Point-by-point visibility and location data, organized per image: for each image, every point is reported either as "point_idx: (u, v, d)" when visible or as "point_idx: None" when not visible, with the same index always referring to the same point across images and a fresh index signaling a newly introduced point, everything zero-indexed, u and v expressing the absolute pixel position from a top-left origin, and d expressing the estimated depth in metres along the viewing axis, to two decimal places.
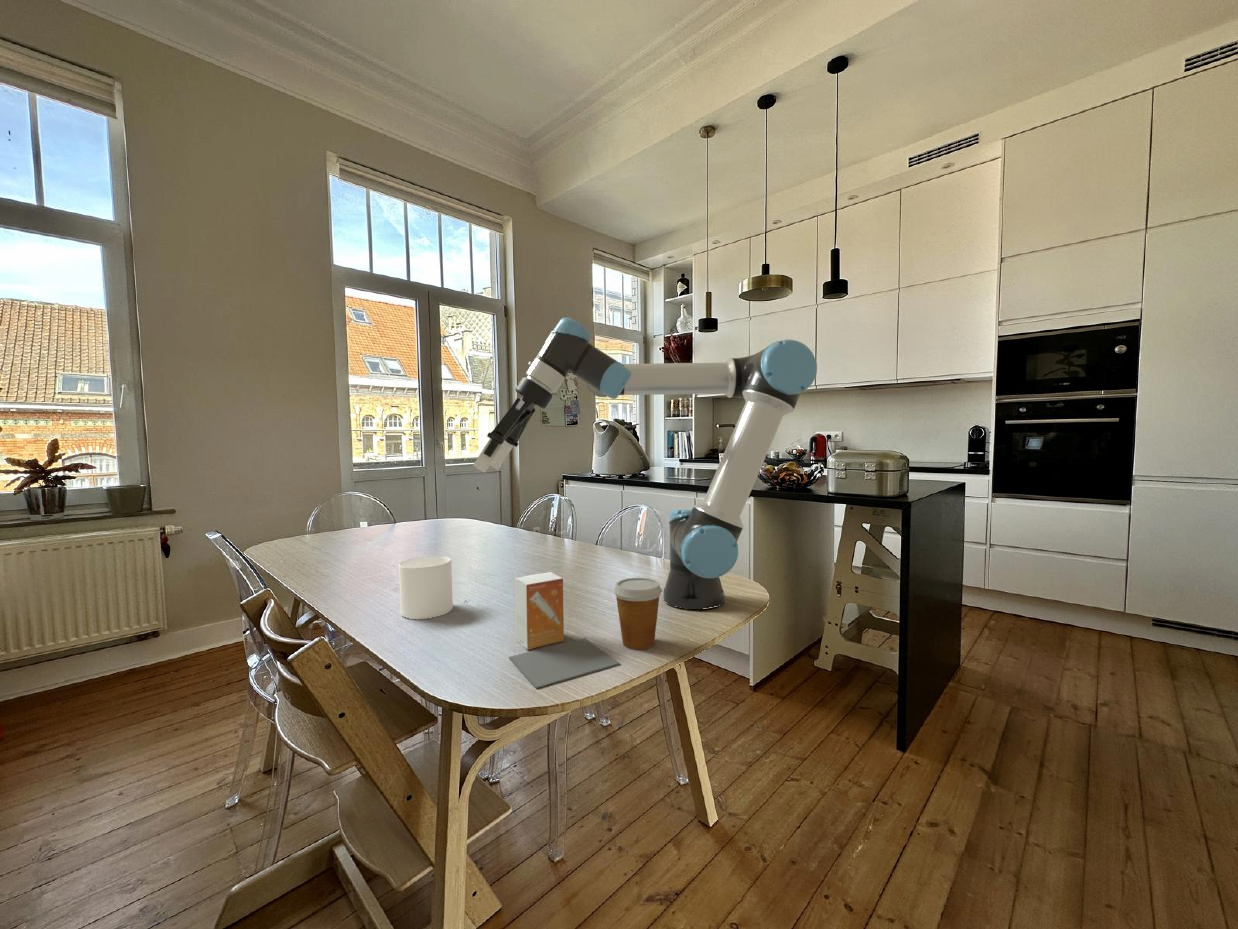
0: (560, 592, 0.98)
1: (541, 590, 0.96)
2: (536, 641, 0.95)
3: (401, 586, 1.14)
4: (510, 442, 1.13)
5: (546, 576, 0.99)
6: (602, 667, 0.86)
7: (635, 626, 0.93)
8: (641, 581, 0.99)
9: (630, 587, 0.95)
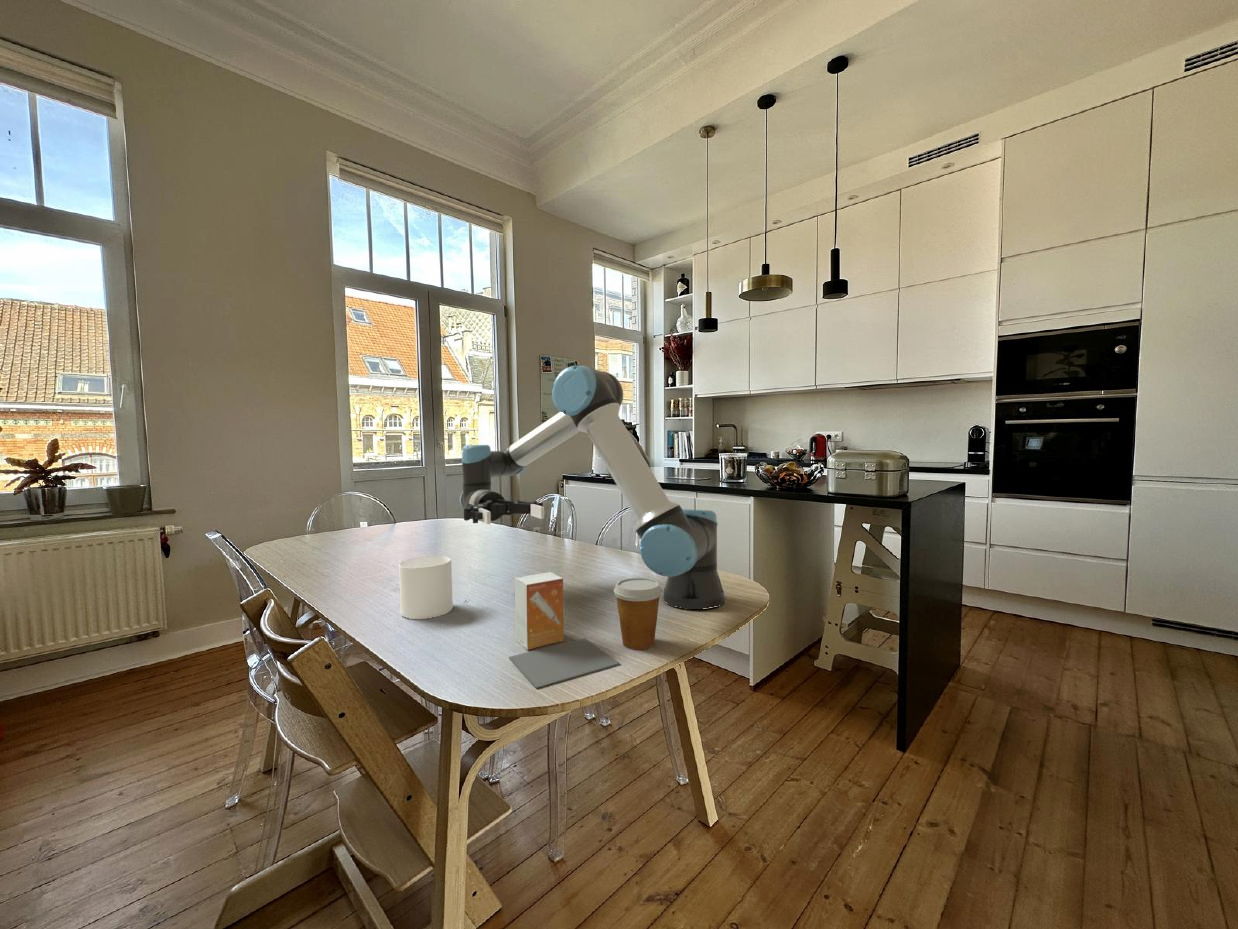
0: (560, 592, 0.98)
1: (541, 590, 0.96)
2: (536, 641, 0.95)
3: (401, 586, 1.14)
4: None
5: (546, 576, 0.99)
6: (602, 667, 0.86)
7: (635, 626, 0.93)
8: (641, 581, 0.99)
9: (630, 587, 0.95)
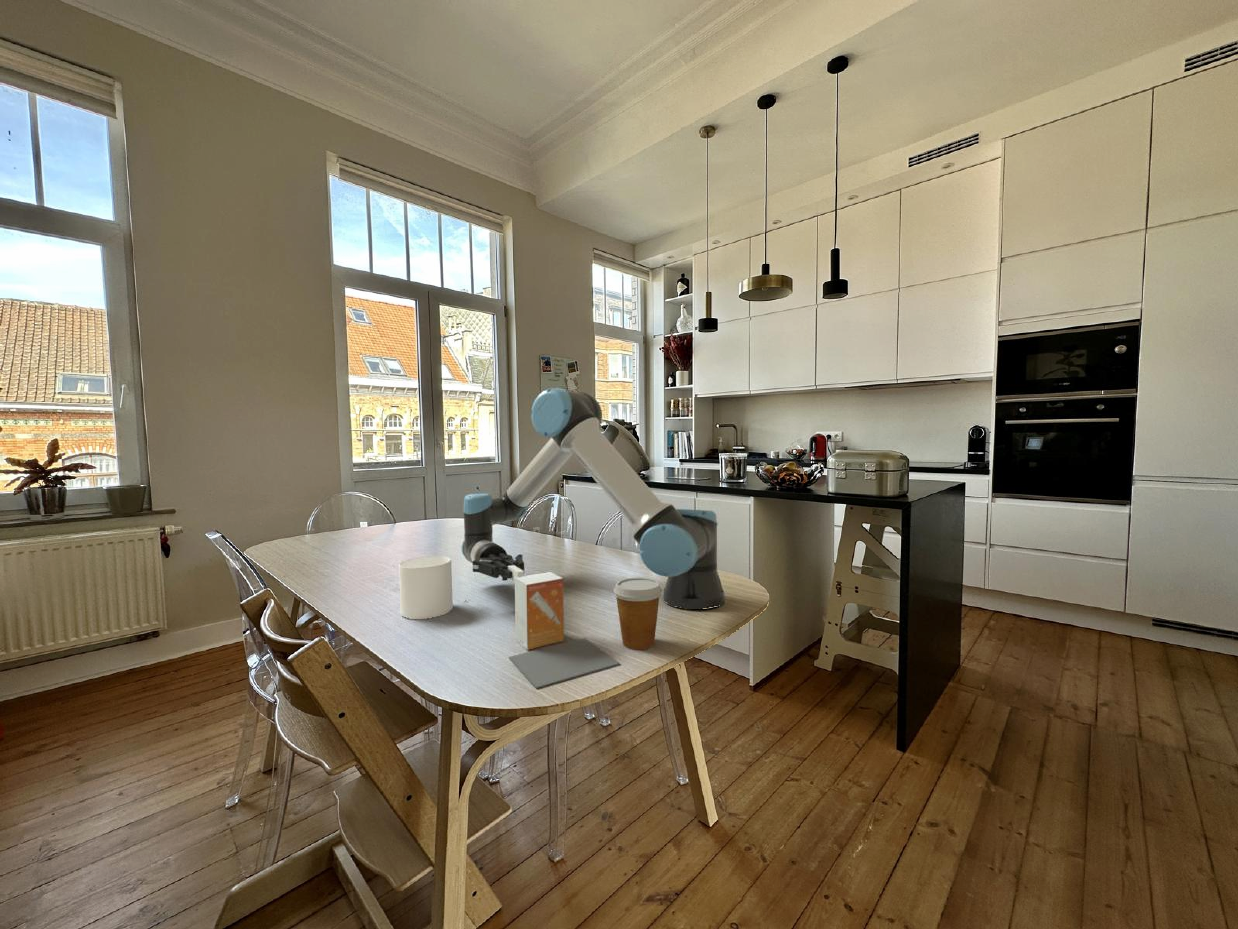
0: (560, 592, 0.98)
1: (541, 590, 0.96)
2: (536, 641, 0.95)
3: (401, 586, 1.14)
4: None
5: (546, 576, 0.99)
6: (602, 667, 0.86)
7: (635, 626, 0.93)
8: (641, 581, 0.99)
9: (630, 587, 0.95)
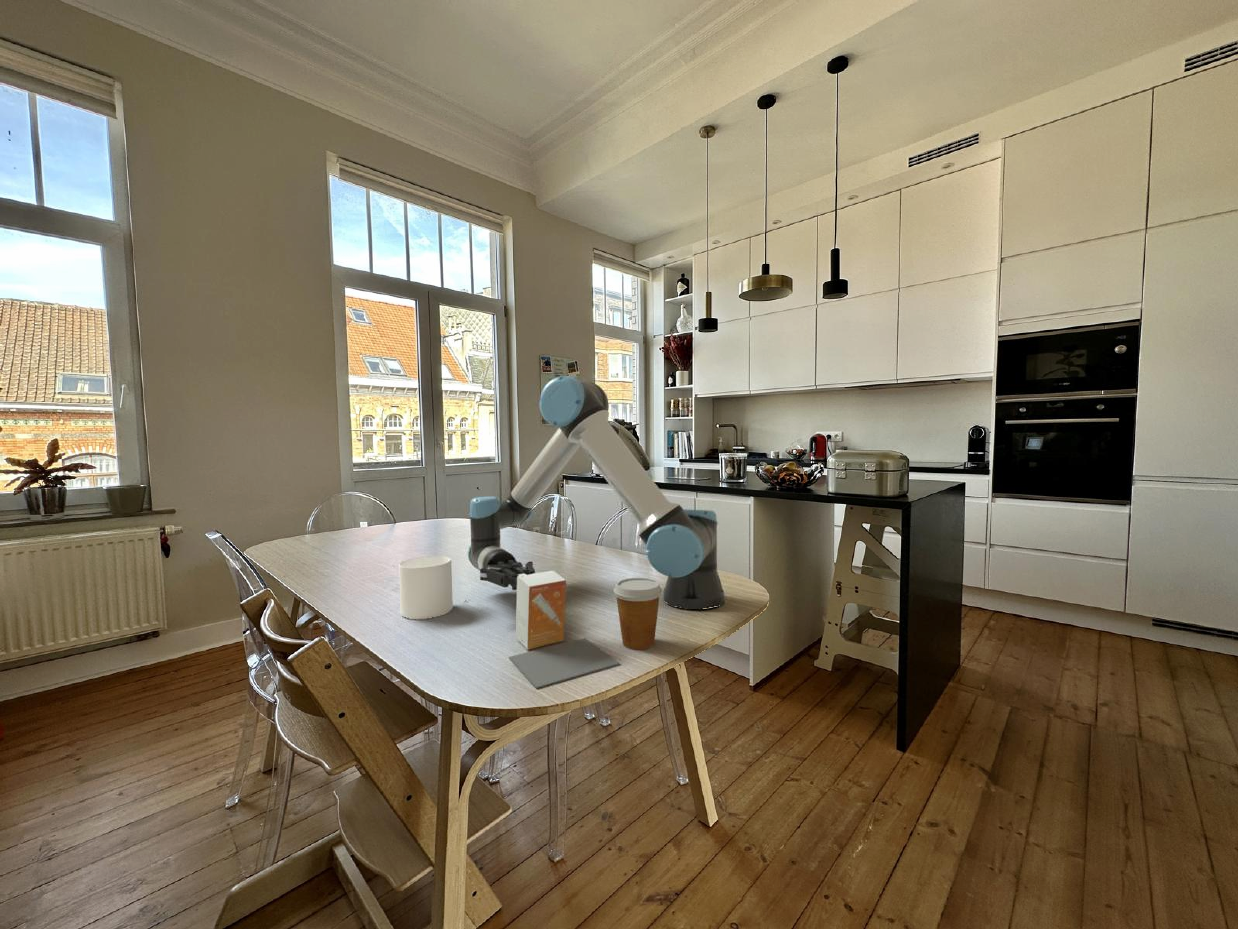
0: (562, 594, 0.97)
1: (544, 592, 0.95)
2: (537, 641, 0.95)
3: (401, 586, 1.14)
4: None
5: (549, 576, 0.98)
6: (602, 667, 0.86)
7: (635, 626, 0.93)
8: (641, 581, 0.99)
9: (630, 587, 0.95)
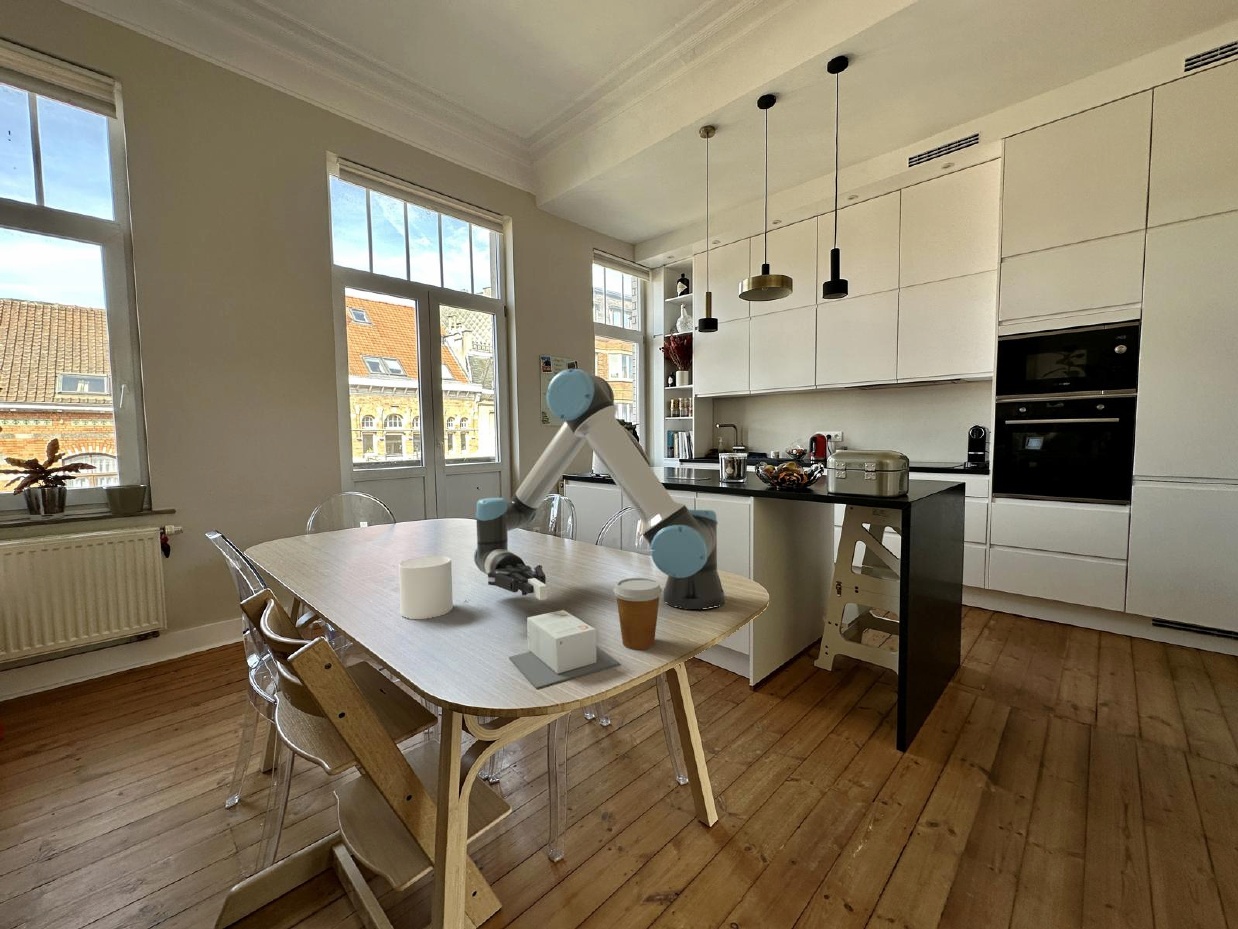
0: None
1: None
2: None
3: (401, 586, 1.14)
4: None
5: (585, 650, 0.87)
6: (602, 667, 0.86)
7: (635, 626, 0.93)
8: (641, 581, 0.99)
9: (630, 587, 0.95)
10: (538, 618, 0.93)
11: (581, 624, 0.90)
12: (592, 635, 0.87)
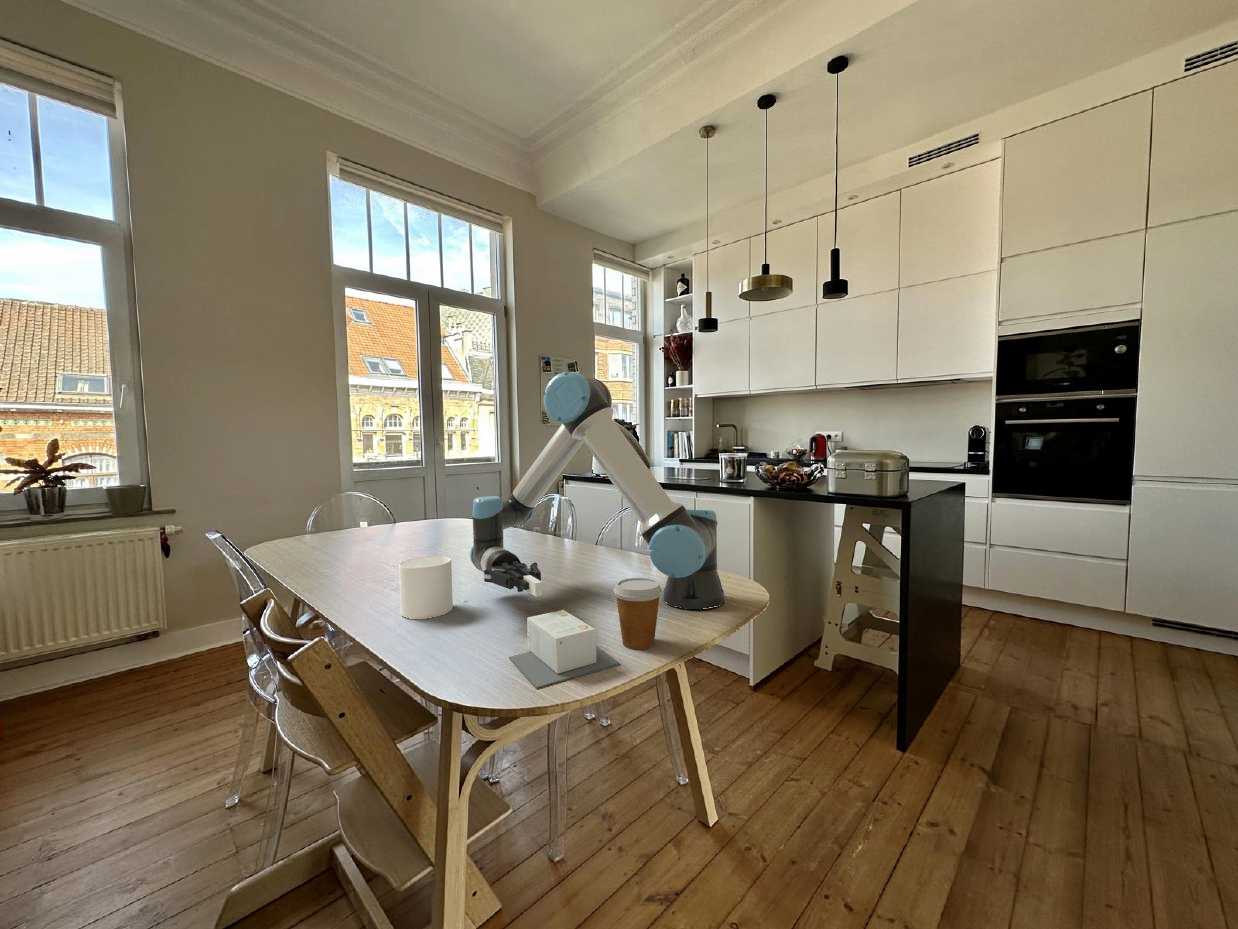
0: None
1: None
2: None
3: (401, 586, 1.14)
4: None
5: (585, 650, 0.87)
6: (602, 667, 0.86)
7: (635, 626, 0.93)
8: (641, 581, 0.99)
9: (630, 587, 0.95)
10: (538, 618, 0.93)
11: (581, 624, 0.90)
12: (592, 635, 0.87)
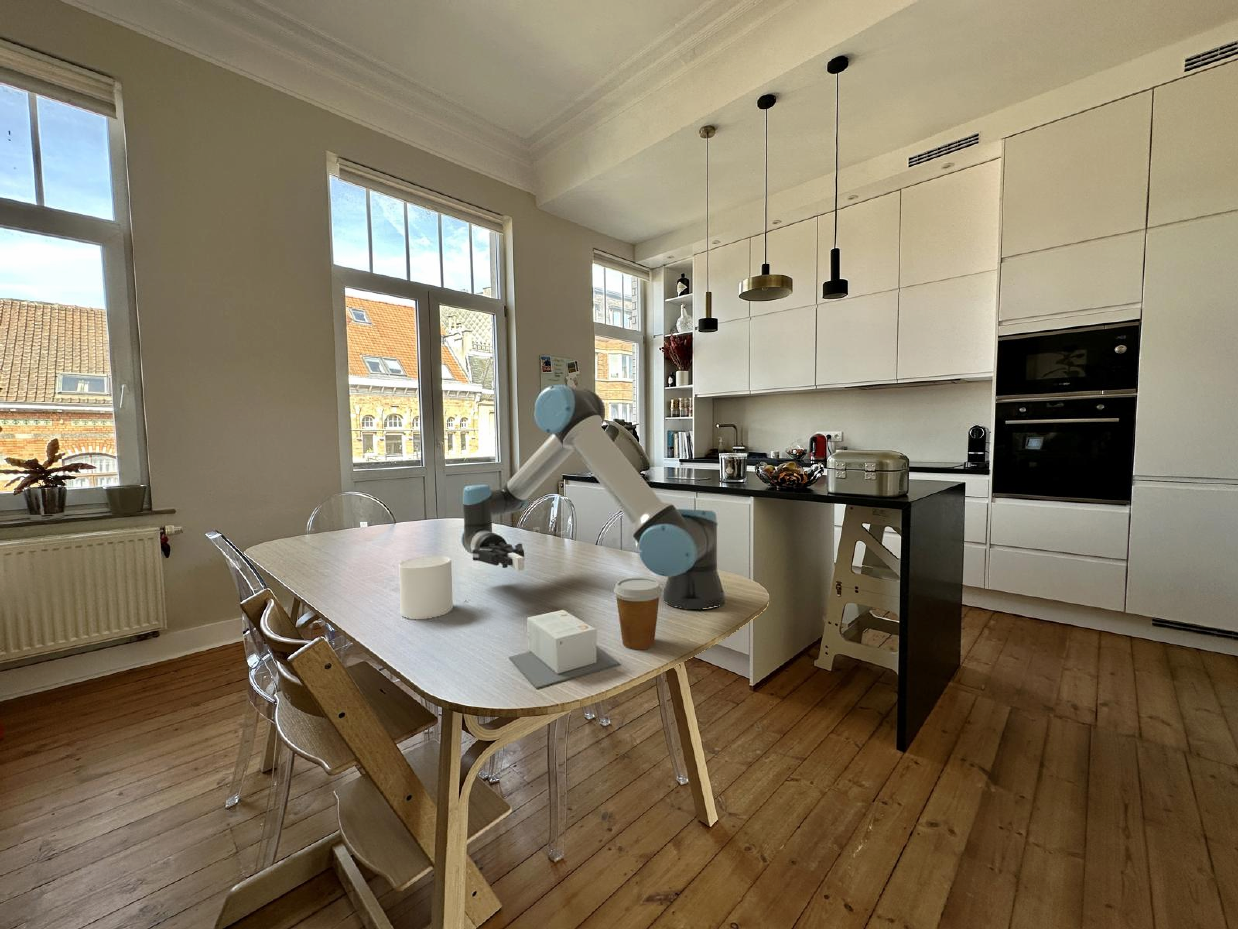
0: None
1: None
2: None
3: (401, 586, 1.14)
4: None
5: (585, 650, 0.87)
6: (602, 667, 0.86)
7: (635, 626, 0.93)
8: (641, 581, 0.99)
9: (630, 587, 0.95)
10: (538, 618, 0.93)
11: (581, 624, 0.90)
12: (592, 635, 0.87)
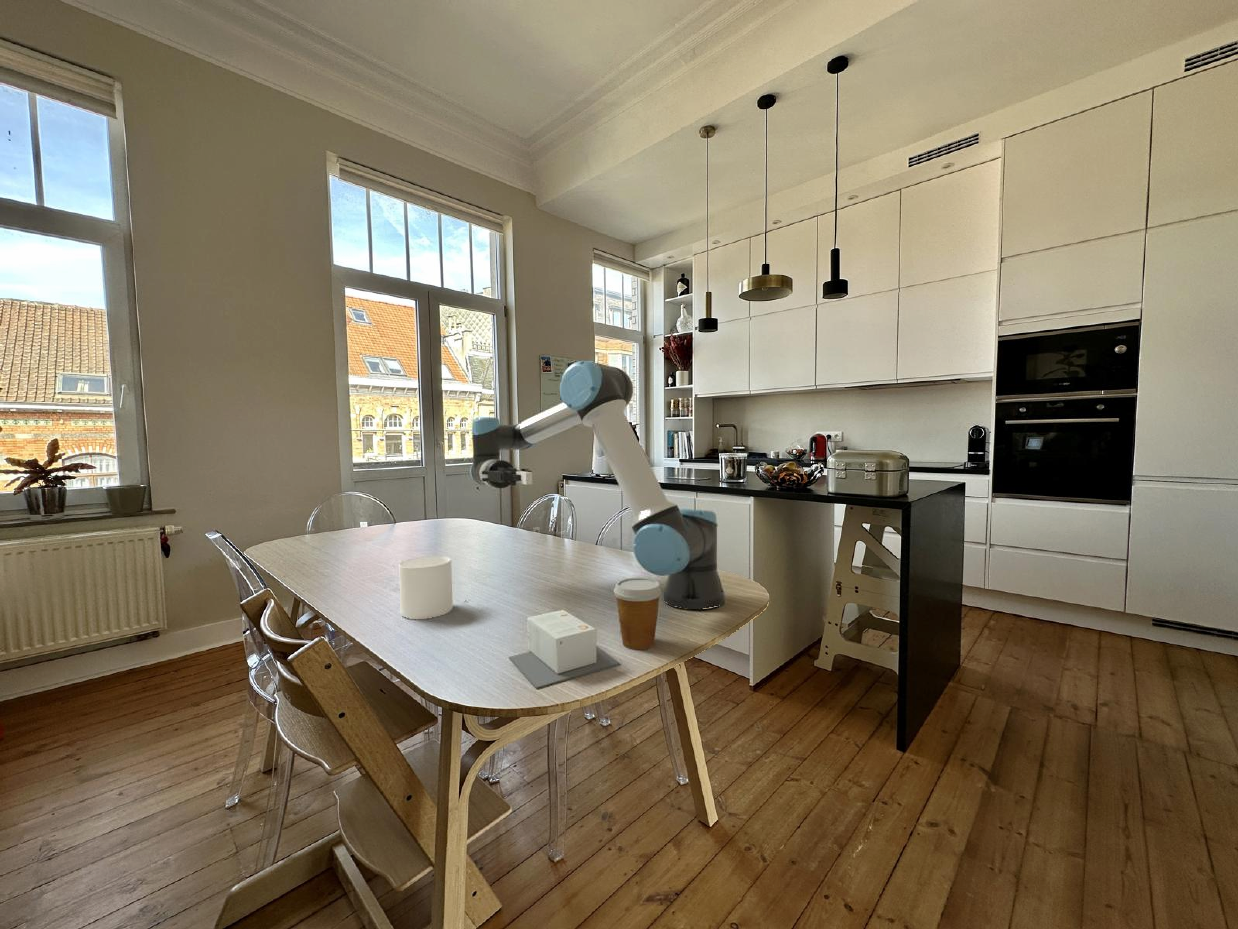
0: None
1: None
2: None
3: (401, 586, 1.14)
4: None
5: (585, 650, 0.87)
6: (602, 667, 0.86)
7: (635, 626, 0.93)
8: (641, 581, 0.99)
9: (630, 587, 0.95)
10: (538, 618, 0.93)
11: (581, 624, 0.90)
12: (592, 635, 0.87)
